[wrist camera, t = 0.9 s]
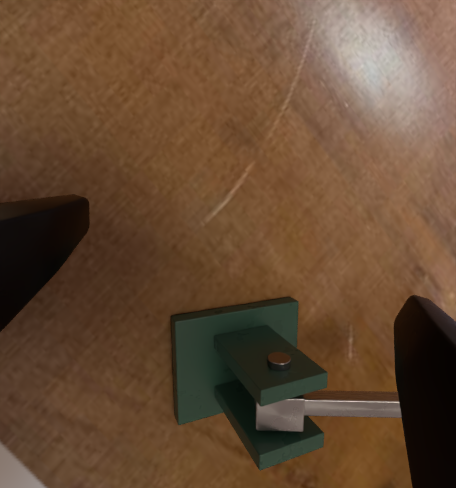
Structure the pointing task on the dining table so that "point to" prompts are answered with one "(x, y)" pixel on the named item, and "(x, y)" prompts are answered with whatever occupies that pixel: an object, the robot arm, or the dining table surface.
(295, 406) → the lever
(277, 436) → the bracket
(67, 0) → the dining table surface
